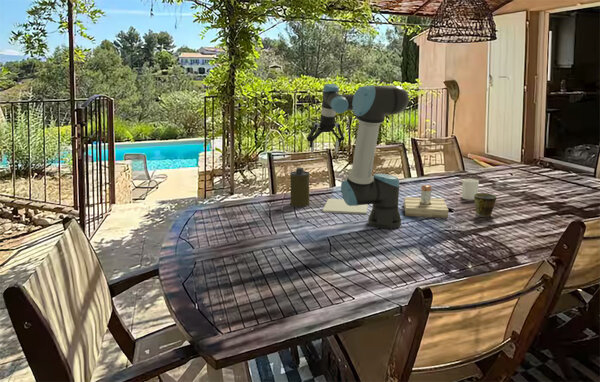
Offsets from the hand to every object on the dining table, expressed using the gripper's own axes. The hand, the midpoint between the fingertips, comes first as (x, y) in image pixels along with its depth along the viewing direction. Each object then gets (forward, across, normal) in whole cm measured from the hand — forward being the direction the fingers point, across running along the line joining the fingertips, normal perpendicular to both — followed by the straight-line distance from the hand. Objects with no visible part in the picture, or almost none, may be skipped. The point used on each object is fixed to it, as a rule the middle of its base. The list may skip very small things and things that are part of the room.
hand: (324, 152), depth 238 cm
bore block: (+17, -45, +36) cm, 61 cm away
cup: (+21, -82, +19) cm, 87 cm away
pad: (+22, -9, +21) cm, 32 cm away
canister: (+26, +14, +10) cm, 31 cm away
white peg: (+17, -45, +36) cm, 61 cm away
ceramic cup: (+13, -68, +50) cm, 86 cm away
